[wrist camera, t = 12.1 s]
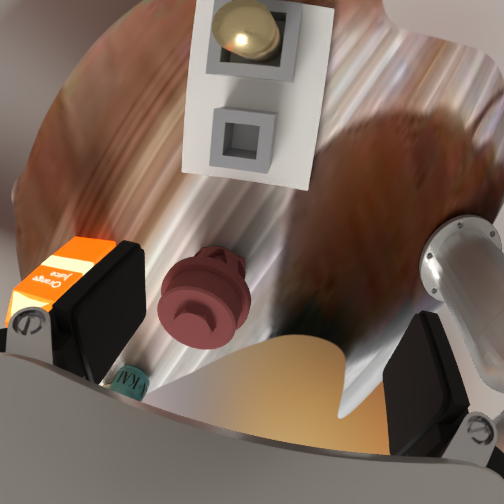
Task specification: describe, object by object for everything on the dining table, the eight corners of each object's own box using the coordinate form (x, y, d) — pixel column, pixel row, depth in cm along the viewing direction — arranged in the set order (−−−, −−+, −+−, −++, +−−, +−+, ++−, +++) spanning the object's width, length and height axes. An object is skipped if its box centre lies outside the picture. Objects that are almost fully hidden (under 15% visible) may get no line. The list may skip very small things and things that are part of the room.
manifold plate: (333, 12, 26) (338, -2, 21) (307, 186, 35) (307, 203, 31) (201, 1, 27) (184, -12, 22) (186, 169, 36) (167, 182, 32)
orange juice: (115, 241, 43) (27, 332, 25) (125, 292, 47) (55, 387, 30) (74, 235, 44) (-15, 314, 26) (85, 284, 48) (13, 368, 31)
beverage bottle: (143, 385, 58) (105, 466, 41) (117, 365, 57) (72, 445, 40) (159, 375, 56) (119, 464, 38) (131, 353, 54) (82, 441, 37)
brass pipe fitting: (286, 25, 26) (276, 0, 17) (281, 65, 28) (270, 54, 19) (242, 22, 26) (214, -2, 18) (238, 61, 29) (209, 51, 20)
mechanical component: (172, 238, 41) (245, 221, 38) (200, 301, 45) (268, 290, 43) (129, 293, 30) (220, 277, 28) (171, 364, 35) (255, 358, 32)
